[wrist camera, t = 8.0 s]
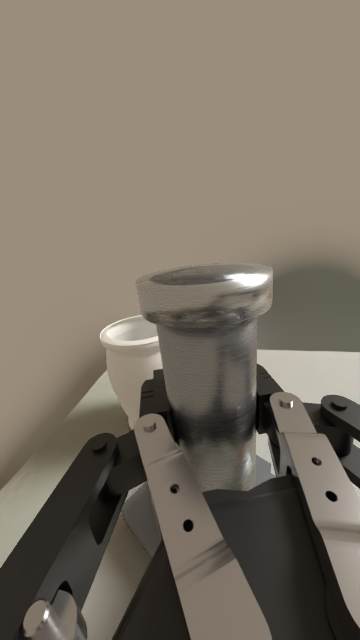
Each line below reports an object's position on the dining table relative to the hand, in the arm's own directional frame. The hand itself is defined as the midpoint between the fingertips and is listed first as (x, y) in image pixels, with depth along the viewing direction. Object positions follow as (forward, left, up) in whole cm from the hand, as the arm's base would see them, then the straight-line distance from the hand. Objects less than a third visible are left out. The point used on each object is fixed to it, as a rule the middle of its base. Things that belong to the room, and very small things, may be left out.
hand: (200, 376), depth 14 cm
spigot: (+2, +2, -9) cm, 10 cm away
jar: (-7, -16, -18) cm, 25 cm away
